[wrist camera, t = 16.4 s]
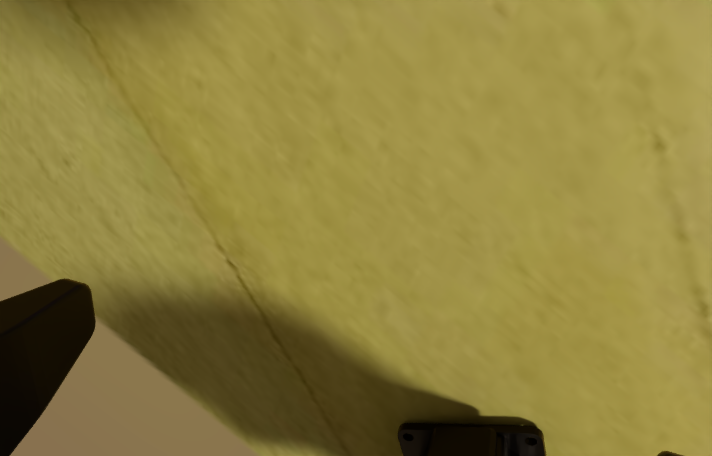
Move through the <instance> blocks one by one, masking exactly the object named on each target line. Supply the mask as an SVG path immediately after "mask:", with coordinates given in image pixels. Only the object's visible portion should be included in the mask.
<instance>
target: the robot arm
mask: <svg viewBox="0 0 712 456" xmlns="http://www.w3.org/2000/svg"><path fill="white" fill-rule="evenodd" d="M94 329H95V314H94V307H93V301H92V294H91V289H90V288H89V286H88V285H86V284H84V283H81V282H77V281H74V280H70V279H60V280H57V281H54V282H52V283H49V284H46V285H44V286H41V287H38V288H35V289H33V290H30V291H27V292H25V293H22V294H19V295H16V296H14V297H11V298H8V299H6V300H3V301H0V456H10V455H11V453H12V452H13V451H14V449H15V448H16V447H17V445H18V444H19V443H20V442H21V441H22V439H23V438H24V437H25V435H26V434H27V433H28V432H29V430H30V429H31V428H32V427H33V425H34V424H35V423H36V421H37V420H38V418H39V417H40V416H41V415H42V413H43V412H44V410H45V409H46V407H47V406H48V404H49V403H50V401H51V400H52V398H53V396H54V395H55V393H56V392H57V390H58V389H59V387H60V385H61V384H62V382H63V381H64V379H65V377H66V376H67V374H68V373H69V371H70V370H71V368H72V366H73V365H74V363H75V362H76V360H77V359H78V357H79V355H80V354H81V352H82V351H83V349H84V348H85V346H86V344H87V343H88V341H89V340H90V338H91V336H92V334H93V332H94ZM529 437H531V438H529ZM398 439H399V442H400V445H401V449H402V452H403V455H404V456H546V450H545V444H544V437H543V433H542V431H541V430H540V429H538V428H536V427H532V426H507V425H469V424H431V423H404V424H402V425H401V426H400V428H399V431H398ZM657 456H683V455H679V454H676V453H672V452H669V451H662V452H661V453H659V454H658V455H657Z"/></svg>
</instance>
